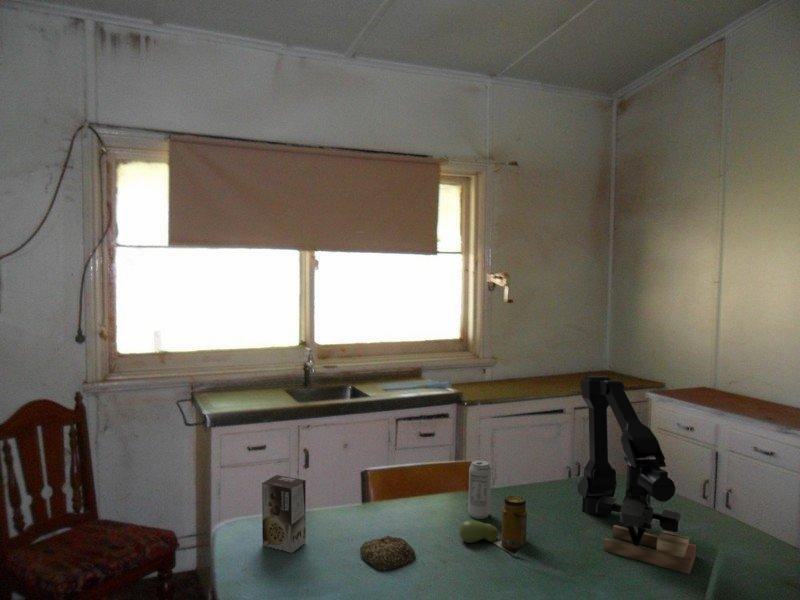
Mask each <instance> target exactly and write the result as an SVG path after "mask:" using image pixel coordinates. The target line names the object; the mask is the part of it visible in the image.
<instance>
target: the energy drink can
mask: <svg viewBox="0 0 800 600" xmlns="http://www.w3.org/2000/svg"><path fill="white" fill-rule="evenodd" d="M468 471H469V472H468V473H469V476H468V509H467V510H468V513H469V515H470V517H471V518H473V519H479V520H481V519H487V518H488V517H489V515H490V514H491V491H492V487H491V485H492V481H491V480H492V468H491V466H490V463H489V461H487V460H483V459H474V460H472V461H471V464H470V466H469V469H468Z"/></svg>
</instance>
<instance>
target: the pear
mask: <svg viewBox="0 0 800 600" xmlns="http://www.w3.org/2000/svg"><path fill="white" fill-rule="evenodd" d="M498 535H499V532H498V529H497V527H496V526H494V525H492V524H490V523H484V522H482V521H479V520H473V519H471V520H470V519H467V520H465V521H463V522H462V523H461V524H460V527H459V536H460V538H461V540H462V541H464V542H465V543H467V544H474V543H476V542H479V541H481V540H486V541H488V542H490V543H494V542H496V541H497V540H496V539H497V537H498Z"/></svg>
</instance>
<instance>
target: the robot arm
mask: <svg viewBox="0 0 800 600" xmlns="http://www.w3.org/2000/svg"><path fill="white" fill-rule="evenodd" d="M579 384H580V390H581V395H582V396H581V397H582V399H583V401H584V403H585V404H586V406H587V407H588V439H589V440H588V443H589V444H588V445H589V460H588V461H587V463H586V465H585V466H584V469H583V477H582V478H581V479H580V480H579V481H578V483H577V485H576V486H577V493H578V494H579V495H580V496H581V497H582V502H581V503H582V506H581V507H582V508H581V509H582V510H581V511H582V513H585V514H587V515H588V516H591V517H596V518H597V517H603V518H608V517H609V516H610V515H612V514H613V512H615V513H620V518H619V522H620V523H622V524H624V525H625V526H626V528H628V530H629V533H630V536H631V539H632V542H631V544H632V545H636V546H639V545H641V544H640V541H641V539H642V537H643V534H644V532H645V533H646V531H647V529H648V530H651V529H652V528H653V527H654V525H655V523H656V522H658V523H659V527H660V528H661V529H662V531H666V532H670V533H678V532H679V530H680V527H681V526H682V516H681V513H679V512H677V511H673V510H668V509H663V510H662V512H661V513H660V512H655V511H654V509H653V507H652V498H653V499H654V500H656V501H658V502H661V503H665V502H669V501H670V500H671V499H672V498H673V497H674V495H675V493H676V485H675V482H674V481H673V480H672V478H670V477H669V472H668V471H667V470H665V469H662V468H666V467H667V465H666V458H665V456H664V453H663V450H662V449H661V445H660V443H659V440H658V439H657V436H656V435H655V434H654V432H653V431H652V430H651V428H650V427H649V426H647V425H645V424H644V423H642V421H641V420H640V419H639V416H638V414H637V413H636V411H635V408H634V407H633V404H632V403H631V401H630V398H629V397H628V395H627V393H626V391H625V385H624V382H623V381H621V380H618V379H611V377H610V376H608V375H585V376H584V377H583V379H582V380H581V382H580V383H579ZM608 407H610V408H611V411H612V413H613V416H614V417H615V419H616V422H617V423H618V425H619V427H620V430H621V438H620V442H621V445H622V449H623V450H622V451H623V452H624V454H625V456H624V457H623V461H625V462H626V463H627V465H626V482H625V483H626V484H625V487H626V488H625V493H624V494H625V496H624V498H623V500H622V504H619V503H618V499H617V498H614V497H615V493H616V489H617V485H618V483H617V471H616V469H615V468H613V467H612V465H611V464H610V462H609V440H608V438H609V437H608V436H609V434H608ZM637 531H638V533H637ZM639 547H640V546H639Z"/></svg>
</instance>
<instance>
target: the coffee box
mask: <svg viewBox="0 0 800 600" xmlns="http://www.w3.org/2000/svg"><path fill="white" fill-rule="evenodd" d="M306 482H307V481H306V480H305V479H302V478H295V477H290V476H285V475H278V474H276V475H274V476H272V477H270V478H268V479H267V480H265V481H263V482H261V508H262V510H261V511H262V512H261V516H262V517H261V518H262V519H261V520H262V522H261V523H262V526H261V527H262V531H261V532H262V547H265V546H267V547H266V548H269V547H272V548H271V549H273V548H275V549H274V550H277V549H279V550H278V551H281V550H283V551H282V552H285V551H286V552H287V553H290V554H293V553H294V552H295V551H297V550H299V549H300V548H301V547H302V546H304V545H305V544H306V543H305V542H306V539H307V538H306V529H307V528H306V525H307V524H306V516H307V515H306V513H307V512H306V498H307V497H306V492H307V491H306V488H307V487H306ZM304 543H305V544H304ZM303 544H304V545H303ZM301 545H302V546H301ZM300 546H301V547H300ZM299 547H300V548H299ZM296 549H297V550H296Z"/></svg>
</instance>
